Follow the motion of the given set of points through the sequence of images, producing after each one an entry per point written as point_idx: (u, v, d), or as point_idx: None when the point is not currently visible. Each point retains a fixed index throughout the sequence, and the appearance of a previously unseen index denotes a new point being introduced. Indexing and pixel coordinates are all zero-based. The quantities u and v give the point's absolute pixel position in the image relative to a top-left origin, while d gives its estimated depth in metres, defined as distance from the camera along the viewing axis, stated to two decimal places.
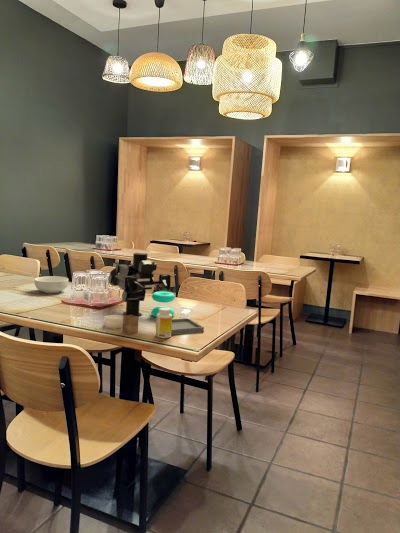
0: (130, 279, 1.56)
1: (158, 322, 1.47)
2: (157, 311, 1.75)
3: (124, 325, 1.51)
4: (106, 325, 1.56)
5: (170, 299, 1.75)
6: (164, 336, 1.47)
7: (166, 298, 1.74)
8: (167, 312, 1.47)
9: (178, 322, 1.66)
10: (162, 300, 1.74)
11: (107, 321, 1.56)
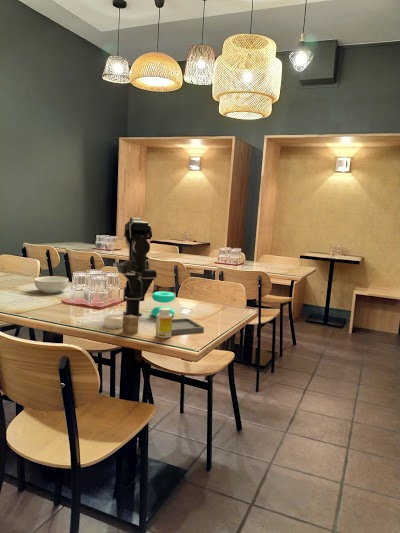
0: (124, 275, 1.64)
1: (158, 322, 1.47)
2: (157, 311, 1.75)
3: (124, 325, 1.51)
4: (106, 325, 1.56)
5: (170, 299, 1.75)
6: (164, 336, 1.47)
7: (166, 298, 1.74)
8: (167, 312, 1.47)
9: (178, 322, 1.66)
10: (162, 300, 1.74)
11: (107, 321, 1.56)
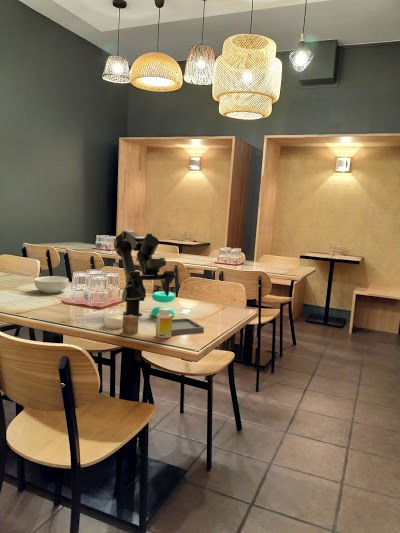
0: (135, 279, 1.52)
1: (158, 322, 1.47)
2: (157, 311, 1.75)
3: (124, 325, 1.51)
4: (106, 325, 1.56)
5: (170, 299, 1.75)
6: (164, 336, 1.47)
7: (166, 298, 1.74)
8: (167, 312, 1.47)
9: (178, 322, 1.66)
10: (162, 300, 1.74)
11: (107, 321, 1.56)
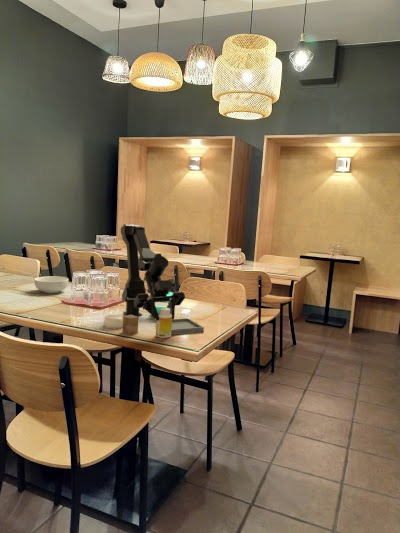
0: (147, 302, 1.46)
1: (158, 322, 1.47)
2: (157, 311, 1.75)
3: (124, 325, 1.51)
4: (106, 325, 1.56)
5: None
6: (164, 336, 1.47)
7: None
8: (167, 312, 1.47)
9: (178, 322, 1.66)
10: None
11: (107, 321, 1.56)
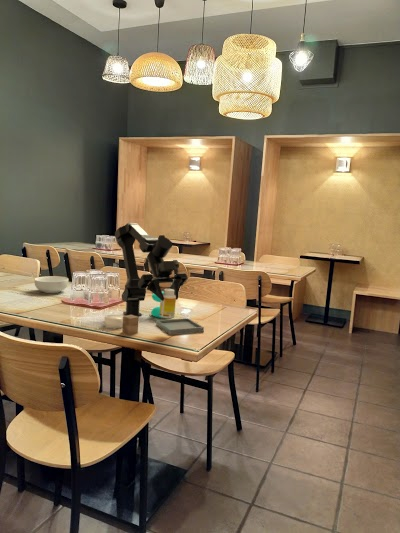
0: (152, 282, 1.49)
1: (162, 302, 1.50)
2: (157, 311, 1.75)
3: (124, 325, 1.51)
4: (106, 325, 1.56)
5: None
6: (168, 316, 1.50)
7: None
8: (172, 293, 1.50)
9: (178, 322, 1.66)
10: None
11: (107, 321, 1.56)
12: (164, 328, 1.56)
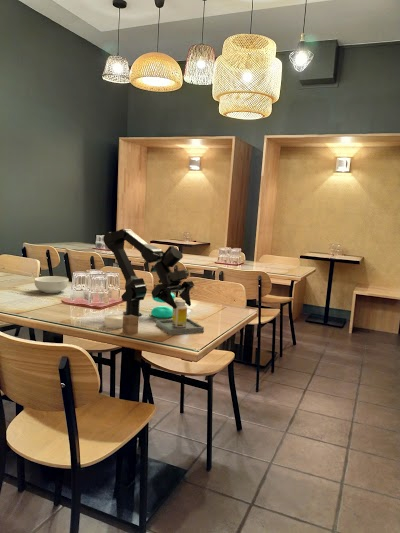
0: (165, 291, 1.55)
1: (175, 313, 1.58)
2: (157, 311, 1.75)
3: (124, 325, 1.51)
4: (107, 325, 1.56)
5: None
6: (182, 326, 1.59)
7: None
8: (184, 303, 1.59)
9: None
10: None
11: (108, 321, 1.56)
12: (164, 328, 1.56)
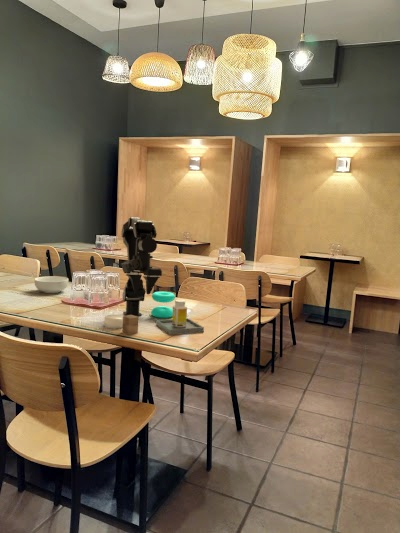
0: (127, 275, 1.64)
1: (175, 313, 1.58)
2: (157, 311, 1.75)
3: (124, 325, 1.51)
4: (107, 325, 1.56)
5: (170, 299, 1.75)
6: (182, 326, 1.59)
7: (166, 298, 1.74)
8: (184, 303, 1.59)
9: None
10: (162, 300, 1.74)
11: (108, 321, 1.56)
12: (164, 328, 1.56)
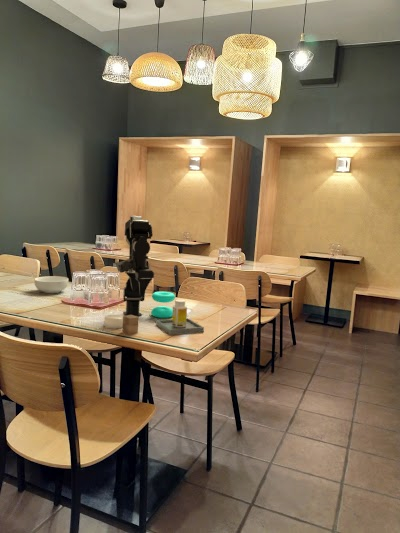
0: None
1: (175, 313, 1.58)
2: (157, 311, 1.75)
3: (124, 325, 1.51)
4: (107, 325, 1.56)
5: (170, 299, 1.75)
6: (182, 326, 1.59)
7: (166, 298, 1.74)
8: (184, 303, 1.59)
9: None
10: (162, 300, 1.74)
11: (108, 321, 1.56)
12: (164, 328, 1.56)
